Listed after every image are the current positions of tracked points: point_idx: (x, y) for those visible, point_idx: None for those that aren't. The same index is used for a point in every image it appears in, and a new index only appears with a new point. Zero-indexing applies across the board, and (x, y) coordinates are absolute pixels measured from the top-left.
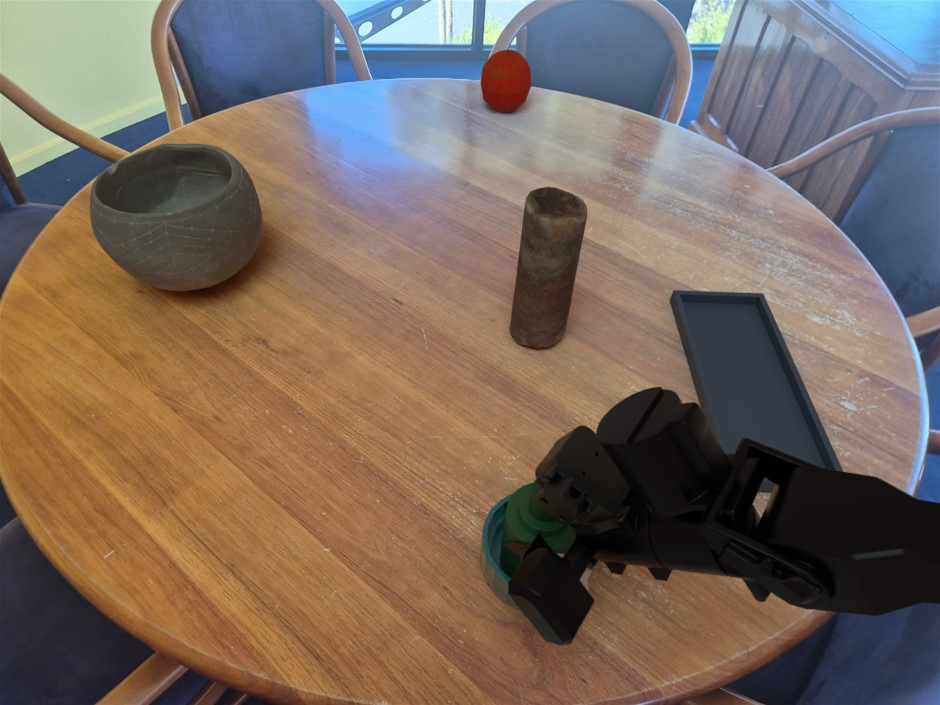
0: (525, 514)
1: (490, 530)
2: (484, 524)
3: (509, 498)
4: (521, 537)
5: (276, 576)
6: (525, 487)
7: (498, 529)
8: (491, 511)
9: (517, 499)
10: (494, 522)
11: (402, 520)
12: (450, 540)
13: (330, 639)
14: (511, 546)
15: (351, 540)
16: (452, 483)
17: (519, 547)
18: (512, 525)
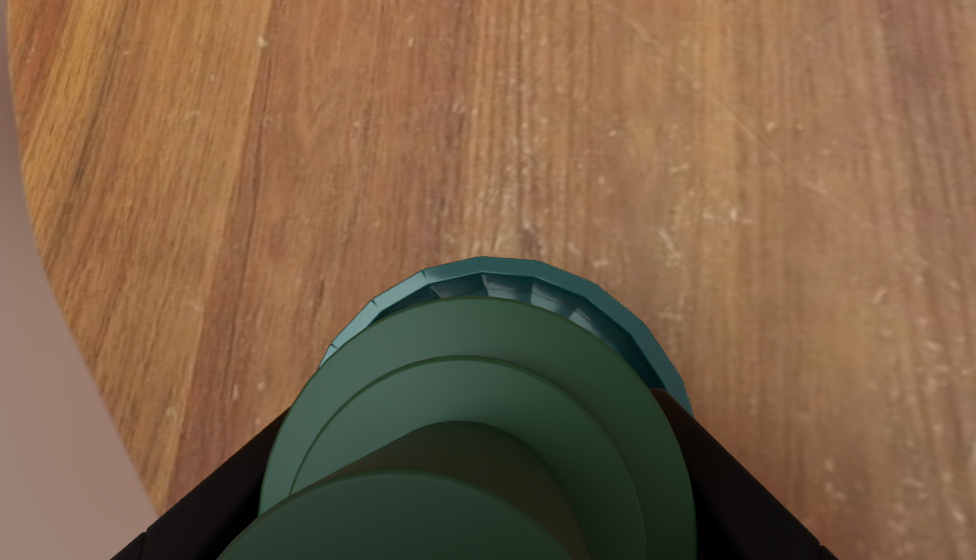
0: (332, 457)
1: (465, 293)
2: (425, 270)
3: (561, 282)
4: (275, 483)
5: (169, 12)
6: (553, 330)
7: None
8: (479, 261)
9: (461, 335)
10: (493, 288)
11: (402, 111)
12: (425, 226)
13: (116, 170)
14: (253, 447)
15: (303, 63)
16: (555, 138)
17: (181, 523)
18: (311, 401)
